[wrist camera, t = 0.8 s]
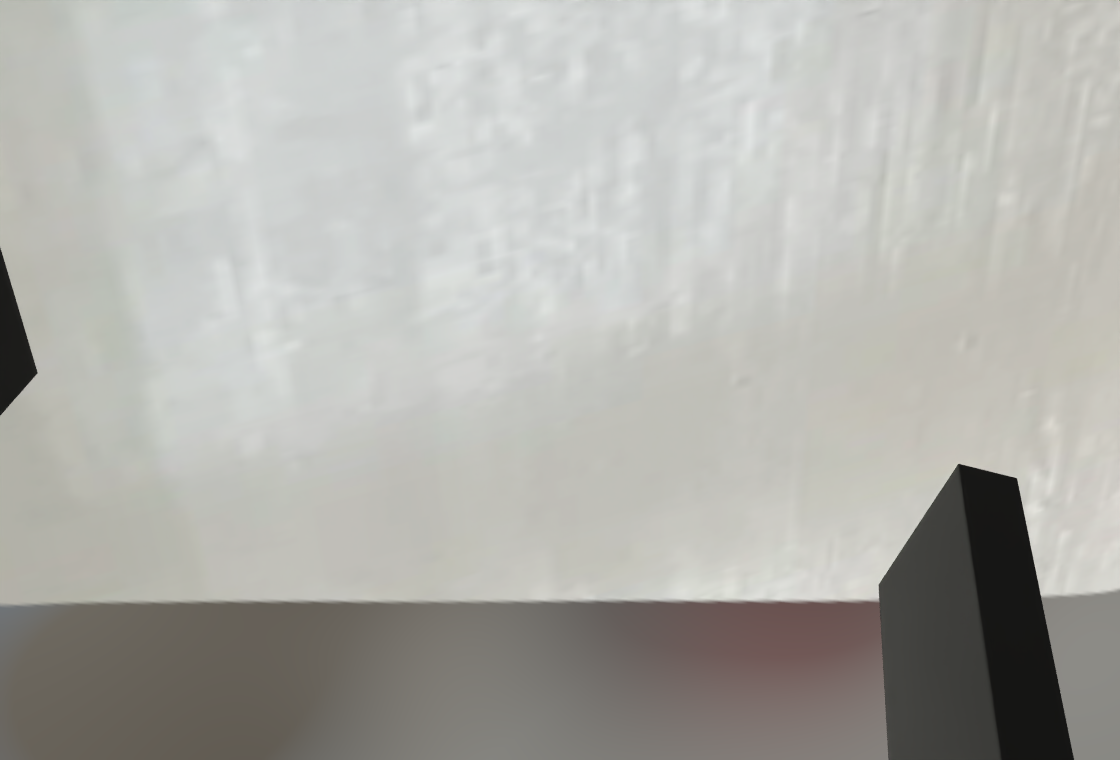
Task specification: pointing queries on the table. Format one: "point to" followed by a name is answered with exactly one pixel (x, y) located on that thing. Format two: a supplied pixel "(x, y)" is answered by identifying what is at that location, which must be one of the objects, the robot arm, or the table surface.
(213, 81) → the table surface
